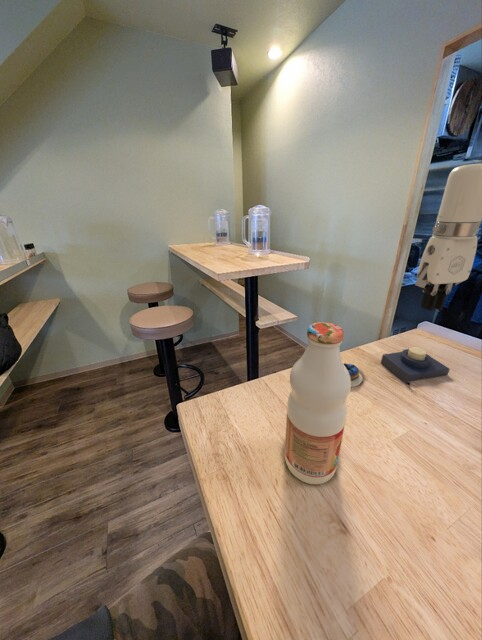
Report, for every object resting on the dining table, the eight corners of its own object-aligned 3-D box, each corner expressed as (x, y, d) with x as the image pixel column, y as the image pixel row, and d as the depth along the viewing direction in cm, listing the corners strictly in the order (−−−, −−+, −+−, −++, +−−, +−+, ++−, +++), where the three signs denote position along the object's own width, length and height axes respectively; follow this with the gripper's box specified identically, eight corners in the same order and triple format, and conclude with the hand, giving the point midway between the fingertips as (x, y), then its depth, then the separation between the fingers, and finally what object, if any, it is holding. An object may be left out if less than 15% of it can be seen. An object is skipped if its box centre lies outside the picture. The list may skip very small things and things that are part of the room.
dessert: (347, 364, 73) (357, 356, 68) (359, 385, 70) (372, 379, 65) (324, 372, 71) (333, 365, 66) (336, 395, 68) (347, 389, 63)
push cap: (416, 352, 71) (418, 345, 70) (428, 360, 67) (430, 353, 66) (403, 354, 70) (405, 347, 69) (415, 362, 67) (417, 355, 66)
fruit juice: (277, 445, 51) (282, 319, 39) (320, 435, 52) (337, 312, 40) (296, 492, 42) (309, 351, 30) (346, 479, 44) (378, 340, 32)
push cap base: (416, 358, 76) (420, 343, 74) (446, 378, 67) (452, 363, 65) (380, 363, 74) (383, 349, 72) (406, 385, 65) (411, 369, 63)
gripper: (439, 234, 50) (415, 317, 58) (503, 230, 53) (472, 310, 60) (409, 230, 57) (391, 306, 65) (468, 227, 59) (444, 300, 67)
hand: (431, 307), depth 62 cm, fingers closed
